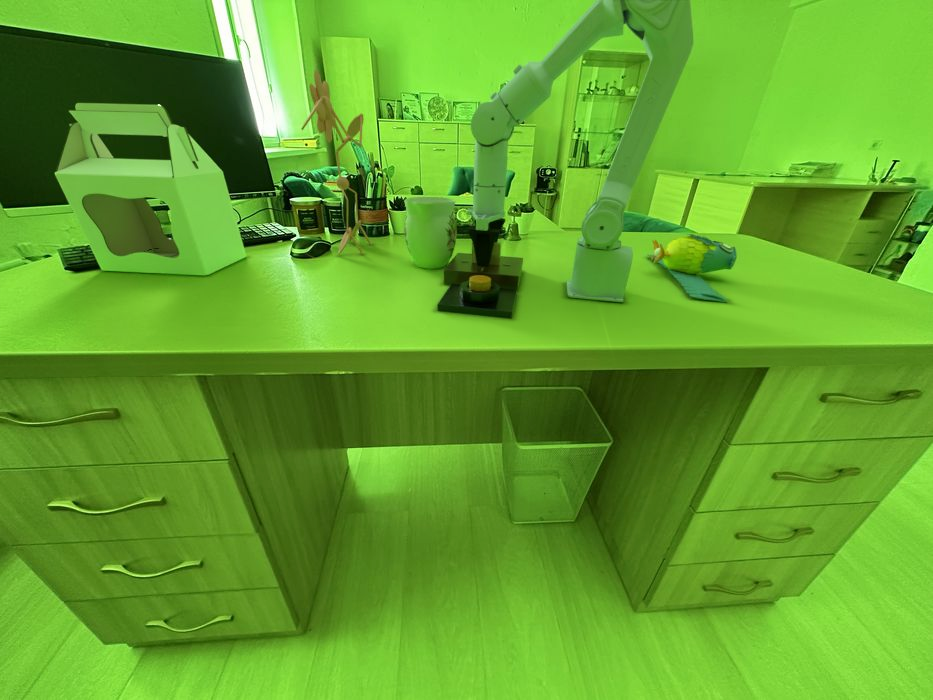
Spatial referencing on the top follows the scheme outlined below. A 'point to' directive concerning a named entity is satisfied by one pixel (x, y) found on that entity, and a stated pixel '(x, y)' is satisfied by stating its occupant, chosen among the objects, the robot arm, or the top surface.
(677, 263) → the toy bird
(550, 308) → the top surface
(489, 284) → the button
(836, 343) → the top surface
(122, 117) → the gable box
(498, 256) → the tan block
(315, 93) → the figurine
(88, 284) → the top surface
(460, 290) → the button box
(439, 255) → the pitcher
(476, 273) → the panel
